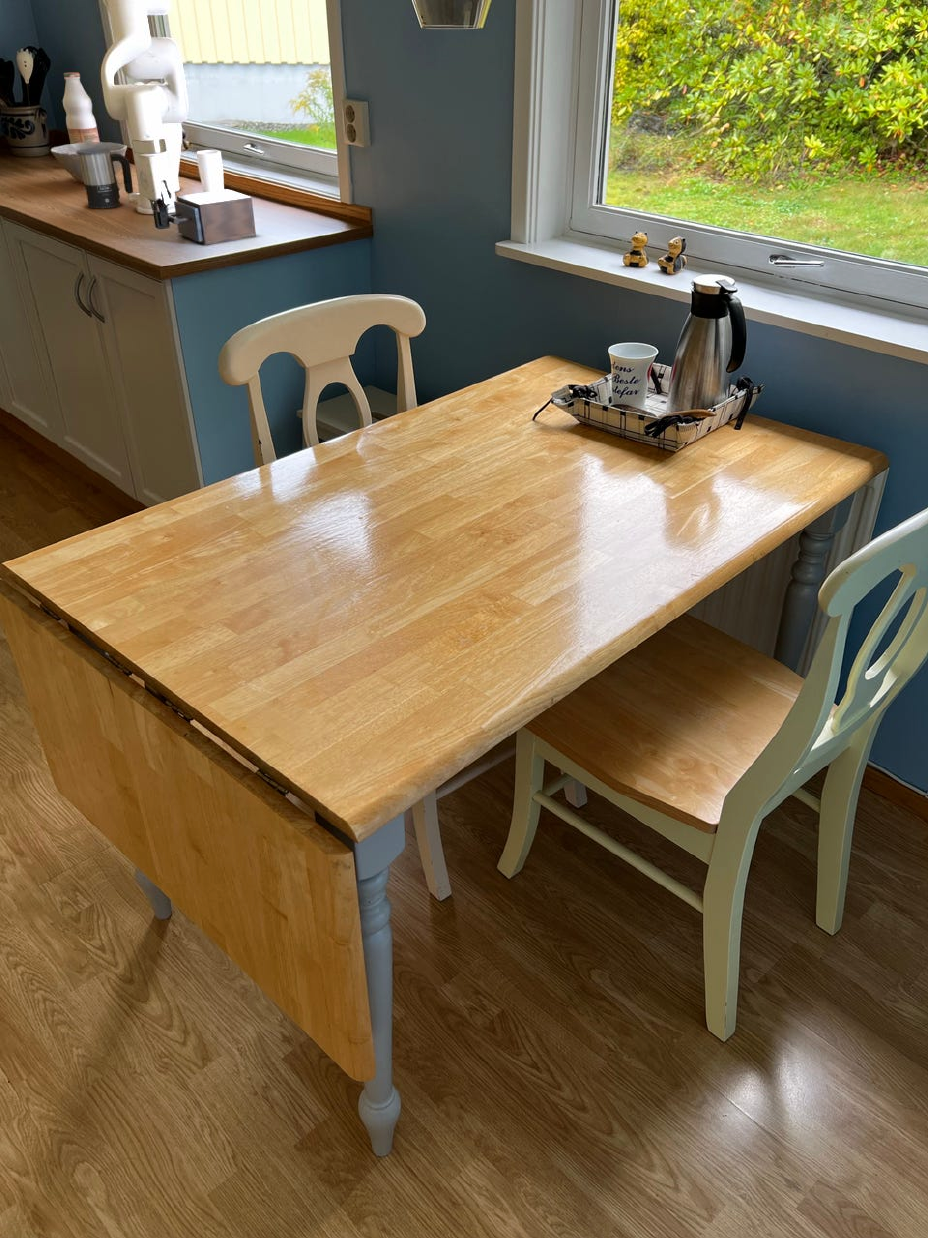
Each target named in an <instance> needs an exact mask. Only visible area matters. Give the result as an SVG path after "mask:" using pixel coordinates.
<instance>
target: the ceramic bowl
mask: <svg viewBox="0 0 928 1238" xmlns="http://www.w3.org/2000/svg"><path fill="white" fill-rule="evenodd" d="M86 148H109V149H110V151H109V153H118V154H121V155H123V156H124V157H126V151H127V149H128V146H127V145H125V144H122V143H117V142H110V141H109V142H108V141H107V142H105V141H99V142H84V143H76V144H71V143H70V144H69V143H68V144H63V145H58V146H54V147H51V149H50V152H51V154H53V156H54V157H55V159H56V160H57V162H59V164H60V165H61V167H63V169H64V170H65V171H66V173H68V174H70V176H71V177H72V178H73V179H74V180H76V181H77V182H80V183H84V179H83V174H82V170H81V165H80V160H79V156H78V154H77V153H76V152H77V150H80V149H86ZM113 166H114V171H115V176H116V175H117V174H118V172H119V171H120V170H121V169H122V165H121V163H120V162H119V161H113Z"/></svg>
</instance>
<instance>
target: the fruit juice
mask: <svg viewBox="0 0 928 1238" xmlns="http://www.w3.org/2000/svg"><path fill="white" fill-rule="evenodd" d="M63 77H64V80H65V87H64V94H63V99H62V106H63V108H64V111H65V113H66V116H65V123H66V128H67V132H68V138H69V143H70V144H76V143H84V142H100V137H99V132H98V126H97V122H96V118H95V115H94V114H93V102H92V99H91V97H90V96H89V95H88V94H87V91H86V90H85V89H84V86H83V84H82V83H81V74H80V73H79V72H74V71H73V72H72V71H71V72H64V73H63Z"/></svg>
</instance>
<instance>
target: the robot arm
mask: <svg viewBox="0 0 928 1238" xmlns="http://www.w3.org/2000/svg"><path fill="white" fill-rule="evenodd" d="M102 2H103V4H104V6H105V7H106V10H107V11H108V14H109V17H110V18H109V19H110V23H111V29H112V30H111V31H112V36H113V43H112V44H111V46H110V47H109V49H108V50H107V51H106V53H105V54H104V57H103V60H102V62H101V68H100V80H101V86H102V93H103V99H104V100H103V101H104V105H105V108H106V111H107V113H108V115H109V116H110V118H112V119H113V120H116V121H125V122H126V126H127V130H128V135H129V140H130V145H131V150H132V156H133V162H134V168H135V173H136V174H135V175H136V180H137V186H138V191H139V192H137V193H134V192H133V193H130V194H128V200H129V202H132V203H133V202H136V203H137V205H136V211H137V212H138V213H140V214H145V215H153V222H154V228H156V229H157V230H166V229H170V228H171V222H169V216H168V215H169V214H175V213H176V212H175V206H174V201H177V198H176V192H174V185H173V179H172V172H171V166H170V159H169V153H168V146H167V142H166V140H165V137H164V131H163V124H166V123H181V124H182V123H184V122H186V121H187V120H188V118H189V115H190V110H189V109H190V108H189V99H188V93H187V87H186V78H185V72H184V67H183V60H182V54H181V50H180V48H179V46H178V44H177V42H176V41H175V39H173V38H171V37H166V36H163V37H162V36H151V34H150V27H149V22H148V16H165V15H168V14H169V13H170V11H171V4H172V2H171V0H102ZM119 69H121V72H122V73H123V75H124V76H125V77H126V78H128V79H134V80H158V79H159V80H160V79H163V80H165V81H166V82H167V83H168V84H164V83H161V84H148V83H144V84H135V83H133V84H132V83H130V84H131V85H128V84H115V82H114V78H115V75H116V73H117V72H118V70H119Z"/></svg>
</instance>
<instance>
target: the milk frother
mask: <svg viewBox="0 0 928 1238" xmlns="http://www.w3.org/2000/svg"><path fill="white" fill-rule="evenodd" d="M109 151H110V149H109V148H86V149H80V150H77V152H76V153H77V154H78V156H79V160H80V165H81V170H82V174H83V179H84V182H83V183H84V187H85V188H84V189H85V194H86V199H87V207H88V208H91V209H112V208H115V207H119V206H121V205H122V203H121V201H120V199H121V197H120V189H121V188H120V186H119V185H118V180H117V176H116V175H115V171H114V166H113V161H119V162H120V163H121V165H122V166H121V171H122V178H123V186H124V191H125V193H126V194H128V195H129V194H130V193H134V187H133V179H132V171H131V164H130V161H129V159H127V157H126V156H123V155H121V154H118V153H109Z"/></svg>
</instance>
